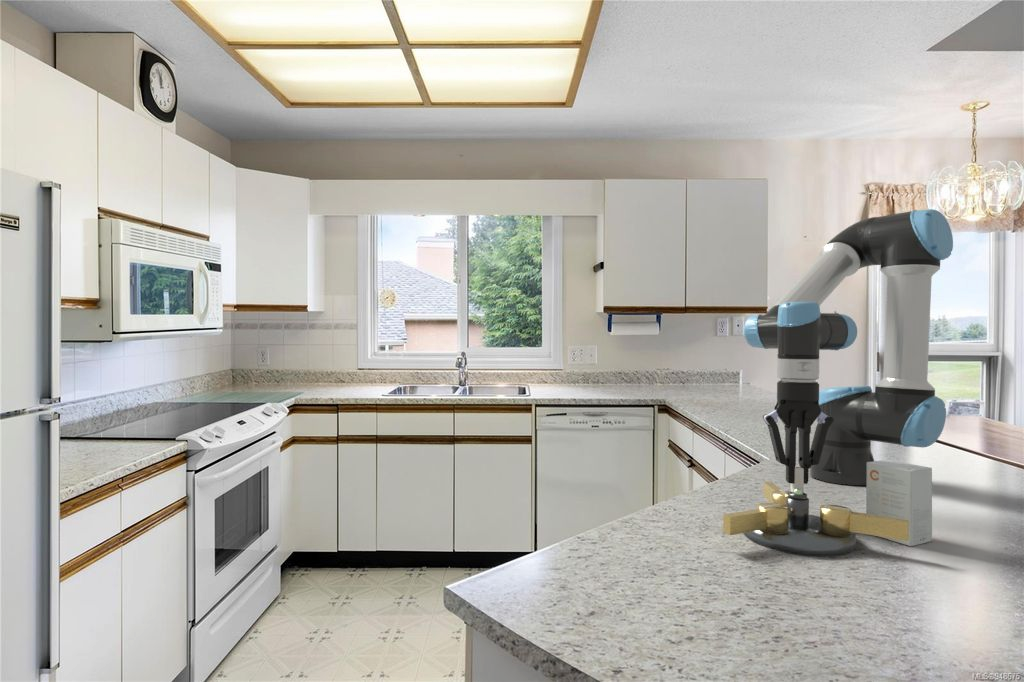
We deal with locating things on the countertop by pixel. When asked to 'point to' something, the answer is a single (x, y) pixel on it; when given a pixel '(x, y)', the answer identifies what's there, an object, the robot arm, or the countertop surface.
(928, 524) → the small box
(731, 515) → the knob
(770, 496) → the knob
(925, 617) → the countertop surface
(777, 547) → the tribrach plate
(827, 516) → the knob
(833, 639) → the countertop surface
